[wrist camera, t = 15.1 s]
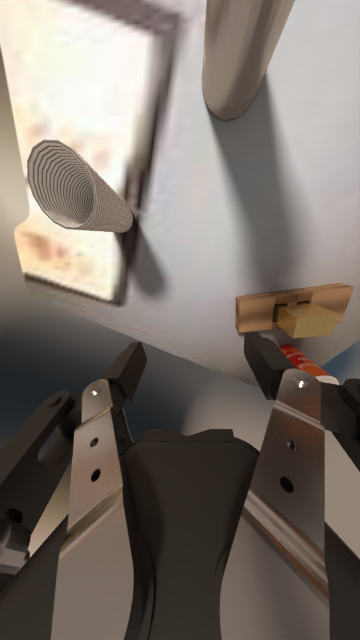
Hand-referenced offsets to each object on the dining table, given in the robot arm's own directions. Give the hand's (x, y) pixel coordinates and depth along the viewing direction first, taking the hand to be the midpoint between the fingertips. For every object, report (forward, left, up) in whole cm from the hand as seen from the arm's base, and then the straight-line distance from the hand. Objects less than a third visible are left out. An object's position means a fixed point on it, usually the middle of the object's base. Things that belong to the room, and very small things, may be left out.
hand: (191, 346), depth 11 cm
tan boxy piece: (+11, +23, -28) cm, 38 cm away
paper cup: (+26, +26, -28) cm, 46 cm away
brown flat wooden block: (+11, +23, -28) cm, 38 cm away
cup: (-16, -14, -28) cm, 35 cm away
